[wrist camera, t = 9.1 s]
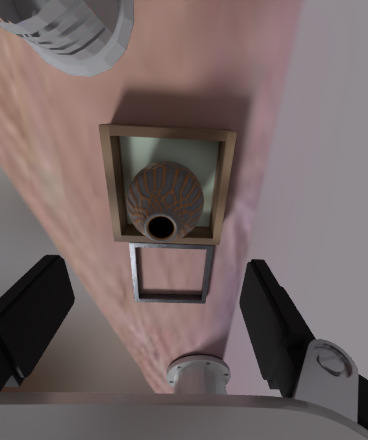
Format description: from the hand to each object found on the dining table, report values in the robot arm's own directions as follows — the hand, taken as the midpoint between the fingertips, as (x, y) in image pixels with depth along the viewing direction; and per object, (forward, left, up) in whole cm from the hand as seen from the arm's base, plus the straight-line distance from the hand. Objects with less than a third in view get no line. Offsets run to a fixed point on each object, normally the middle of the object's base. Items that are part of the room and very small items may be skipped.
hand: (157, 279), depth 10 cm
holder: (+1, -1, -14) cm, 14 cm away
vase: (+1, 0, -13) cm, 13 cm away
